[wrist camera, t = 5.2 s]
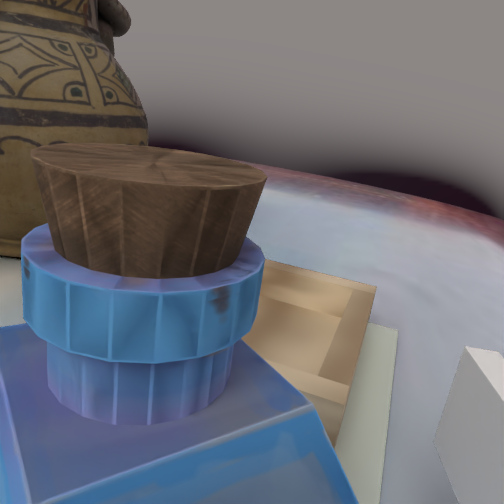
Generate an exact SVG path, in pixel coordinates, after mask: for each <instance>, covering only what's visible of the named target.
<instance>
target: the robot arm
mask: <svg viewBox="0 0 504 504" xmlns="http://www.w3.org/2000/svg"><path fill="white" fill-rule="evenodd" d="M433 442H434V445H435V447H436V449H437V452H438V454H439V457H440V459H441V462H442V464H443V466H444V469H445V471H446V474H447V476H448V479H449V481H450V483H451V486H452V488H453V491H454V493H455V496H456V498H457V500H458V503H459V504H504V358H503V357H502V356H501V355H500V353H499V352H497V351H491V350H485V349H479V348H472V347H466V346H465V347H464V350H463V353H462V356H461V359H460V362H459V365H458V368H457V371H456V374H455V377H454V380H453V383H452V386H451V389H450V392H449V395H448V398H447V401H446V404H445V408H444V411H443V414H442V417H441V420H440V423H439V426H438V429H437V432H436V435H435V438H434V441H433Z"/></svg>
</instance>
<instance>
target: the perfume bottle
mask: <svg viewBox="0 0 504 504" xmlns="http://www.w3.org/2000/svg"><path fill="white" fill-rule="evenodd" d="M31 160H32V163H33V167H34V171H35V175H36V179H37V183H38V187H39V191H40V195H41V198H42V202H43V206H44V210H45V214H46V218H47V222H48V223H46V224H44V225H41V226H38V227H36V228H34V229H33V230H32V231H30V232H29V233H28V234H27V235H26V236H25V237H23V238H22V241H21V267H22V294H23V319H24V320H25V321H26V322H27V323H25V324H18V325H12V326H5V327H0V504H359V502H358V500H357V498H356V496H355V494H354V491H353V489H352V487H351V485H350V483H349V481H348V478H347V476H346V474H345V472H344V470H343V468H342V465H341V463H340V461H339V459H338V457H337V455H336V452H335V450H334V448H333V446H332V444H331V441H330V439H329V437H328V435H327V433H326V431H325V428H324V426H323V424H322V422H321V420H320V418H319V415H318V413H317V411H316V409H315V407H314V405H313V403H312V402H310V401H309V400H308V399H307V398H306V397H305V396H304V395H303V394H302V393H300V392H299V391H298V390H297V389H296V388H295V387H294V386H293V385H292V384H291V383H289V382H288V381H287V380H286V379H285V378H284V377H283V376H282V375H281V374H279V373H278V372H277V371H276V370H275V369H274V368H273V367H272V366H271V365H270V364H268V363H267V362H266V361H265V360H264V359H263V358H262V357H261V356H260V355H258V354H257V353H256V352H255V351H254V350H253V349H252V348H251V347H250V346H249V345H247V344H246V343H245V342H244V341H243V340H242V339H241V338H242V337H243V336H245V335H246V334H247V333H248V332H250V330H251V328H252V325H253V323H254V320H255V318H256V316H257V310H258V303H259V296H260V290H261V283H262V277H263V270H264V263H265V258H264V255H263V253H262V251H261V248H260V247H259V246H258V245H256V244H255V243H254V242H252V241H251V240H250V239H249V238H247V237H246V234H247V231H248V228H249V226H250V223H251V220H252V218H253V215H254V212H255V209H256V207H257V204H258V201H259V198H260V196H261V193H262V190H263V187H264V185H265V182H266V179H267V176H266V175H265V174H264V172H263V171H261V170H259V169H257V168H254V167H252V166H250V165H247V164H243V163H240V162H236V161H233V160H229V159H224V158H220V157H215V156H210V155H205V154H199V153H192V152H187V151H181V150H173V149H165V148H157V147H156V148H155V147H148V146H136V145H124V144H103V143H63V144H54V145H44V146H40V147H38V148H35V149H32V150H31Z"/></svg>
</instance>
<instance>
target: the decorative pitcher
mask: <svg viewBox="0 0 504 504" xmlns="http://www.w3.org/2000/svg"><path fill="white" fill-rule="evenodd" d="M130 26H131V18H130V16H129V14H128V12H127V10H126V9H125V8H124V7H123V6H122V5H121V3H120V2H119V1H118V0H0V255H3V256H12V257H21V241H22V238H23V237H25V236H26V235H27V234H28V233H29V232H30V231H32V230H33V229H34V228H36V227H38V226H41V225H44V224H46V223H48V222H47V218H46V214H45V210H44V206H43V202H42V198H41V195H40V191H39V187H38V183H37V179H36V175H35V171H34V167H33V163H32V160H31V150H32V149H35V148H38V147H40V146H44V145H54V144H63V143H103V144H124V145H136V146H147V145H148V123H147V118H146V114H145V112H144V110H143V108H142V104H141V101H140V99H139V97H138V95H137V93H136V91H135V89H134V87H133V85H132V83H131V81H130V79H129V78H128V77H127V75H126V74H125V72H124V71H123V69H122V68H121V66H120V65H119V64H118V62H117V61H116V59H115V58H114V43H113V37H120V36H122V35H124V34H125V33H126V32H127V31H128V30H129V28H130Z"/></svg>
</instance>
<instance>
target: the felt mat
mask: <svg viewBox="0 0 504 504" xmlns="http://www.w3.org/2000/svg"><path fill="white" fill-rule="evenodd" d="M397 339H398V330H396V329H392V328H388V327H385V326H381V325H377V324H374V323H370V322H368V325H367V329H366V333H365V337H364V341H363V345H362V348H361V352H360V356H359V360H358V363H357V367H356V371H355V375H354V378H353V382H352V386H351V390H350V393H349V397H348V401H347V405H346V408H345V412H344V416H343V420H342V423H341V427H340V431H339V434H338V438H337V442H336V446H335V449H334V450H335V452H336V455H337V457H338V459H339V461H340V463H341V465H342V468H343V470H344V472H345V474H346V476H347V478H348V481H349V483H350V485H351V487H352V489H353V491H354V494H355V496H356V498H357V500H358V502H359V504H379V501H380V492H381V483H382V474H383V465H384V456H385V447H386V438H387V429H388V420H389V411H390V402H391V393H392V384H393V375H394V366H395V357H396V348H397Z"/></svg>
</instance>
